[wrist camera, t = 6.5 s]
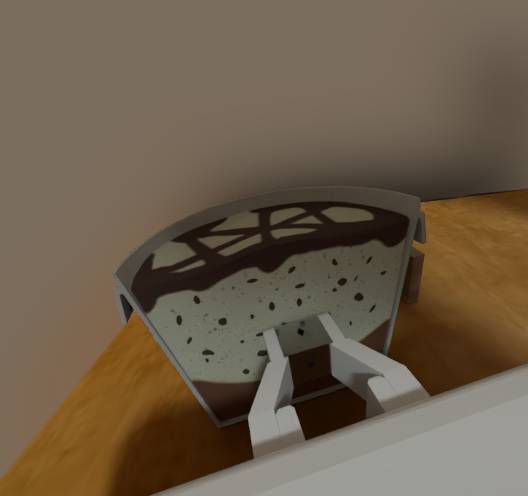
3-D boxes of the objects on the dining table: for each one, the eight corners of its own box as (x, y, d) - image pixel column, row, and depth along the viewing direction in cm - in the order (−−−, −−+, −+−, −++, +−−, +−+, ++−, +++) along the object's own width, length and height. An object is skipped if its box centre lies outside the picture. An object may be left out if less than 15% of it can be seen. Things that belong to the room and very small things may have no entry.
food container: (351, 300, 19) (350, 170, 15) (407, 367, 14) (433, 194, 9) (194, 345, 18) (139, 217, 14) (189, 438, 13) (95, 277, 8)
